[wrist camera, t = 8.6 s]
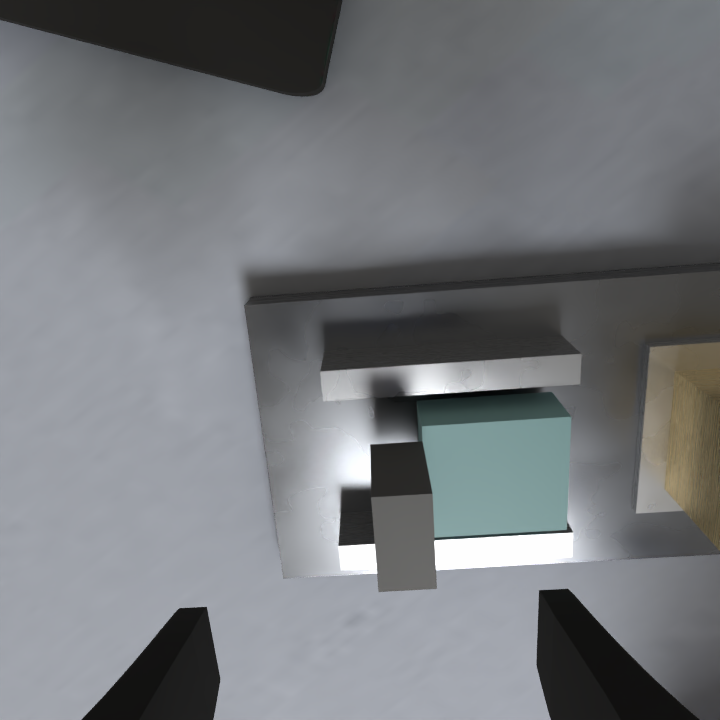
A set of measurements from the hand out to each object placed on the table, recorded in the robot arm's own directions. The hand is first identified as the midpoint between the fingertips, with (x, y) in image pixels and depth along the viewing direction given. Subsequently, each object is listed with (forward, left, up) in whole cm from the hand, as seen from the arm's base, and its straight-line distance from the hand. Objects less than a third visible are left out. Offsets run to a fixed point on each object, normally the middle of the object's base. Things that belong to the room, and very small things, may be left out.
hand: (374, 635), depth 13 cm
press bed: (-6, 0, -10) cm, 12 cm away
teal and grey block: (-3, 0, -8) cm, 9 cm away
